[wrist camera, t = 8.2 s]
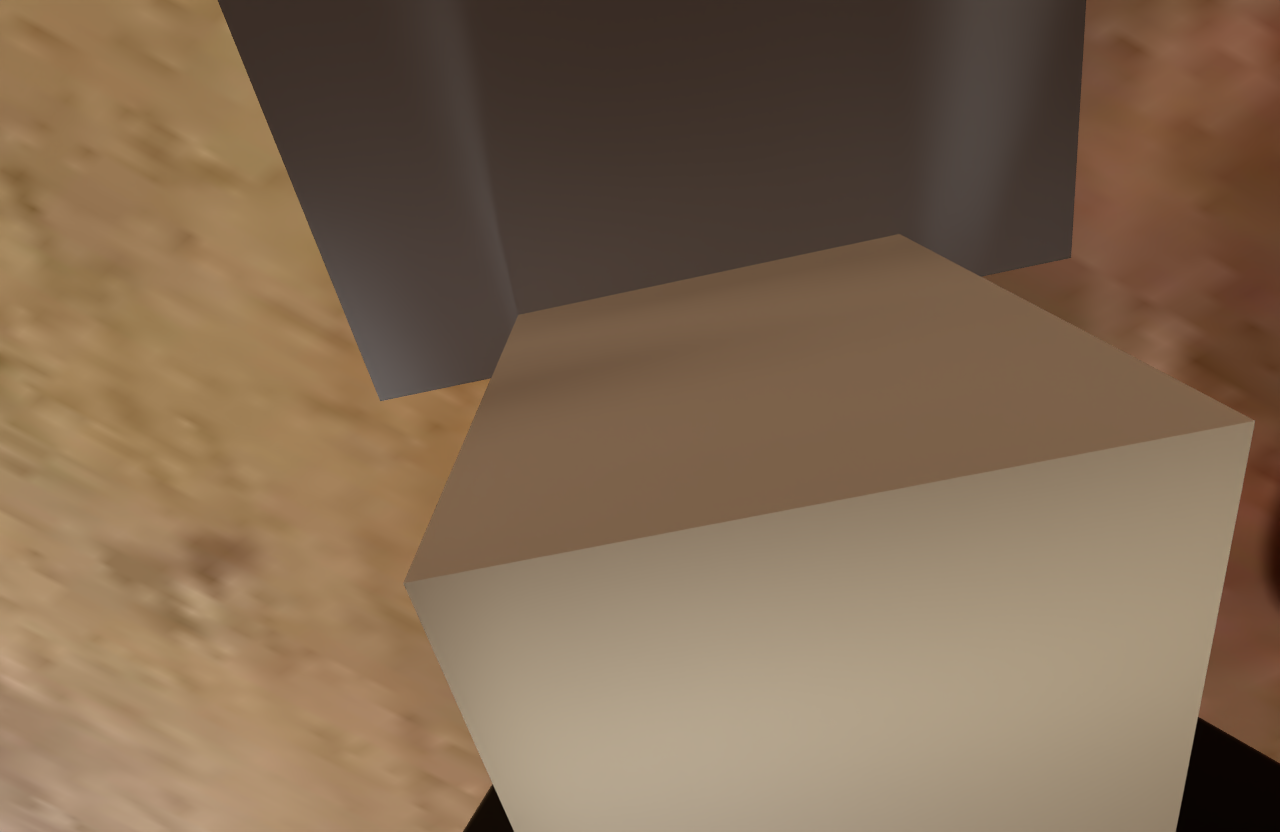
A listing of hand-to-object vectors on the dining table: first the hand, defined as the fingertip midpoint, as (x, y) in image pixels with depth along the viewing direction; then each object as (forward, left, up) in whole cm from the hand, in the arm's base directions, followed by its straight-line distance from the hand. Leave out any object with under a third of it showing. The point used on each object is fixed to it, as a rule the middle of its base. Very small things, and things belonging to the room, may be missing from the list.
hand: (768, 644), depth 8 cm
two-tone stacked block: (0, -2, -1) cm, 2 cm away
